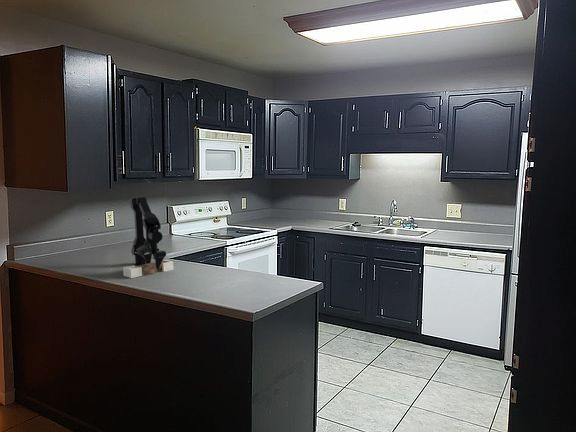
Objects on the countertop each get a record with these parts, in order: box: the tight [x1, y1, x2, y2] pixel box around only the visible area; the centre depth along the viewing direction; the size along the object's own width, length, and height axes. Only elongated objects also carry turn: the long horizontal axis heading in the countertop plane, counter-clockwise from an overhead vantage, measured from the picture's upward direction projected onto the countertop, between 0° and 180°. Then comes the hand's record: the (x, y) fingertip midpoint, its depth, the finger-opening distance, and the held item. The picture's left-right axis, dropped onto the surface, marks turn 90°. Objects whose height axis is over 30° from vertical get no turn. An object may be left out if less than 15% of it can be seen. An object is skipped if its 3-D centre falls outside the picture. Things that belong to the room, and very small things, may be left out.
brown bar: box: [137, 259, 167, 276], centre depth 253 cm, size 16×4×5 cm, turn 143°
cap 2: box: [162, 259, 174, 272], centre depth 258 cm, size 8×6×4 cm
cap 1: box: [122, 264, 143, 279], centre depth 244 cm, size 8×6×4 cm
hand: (153, 267), depth 253 cm, fingers open, 9 cm apart
